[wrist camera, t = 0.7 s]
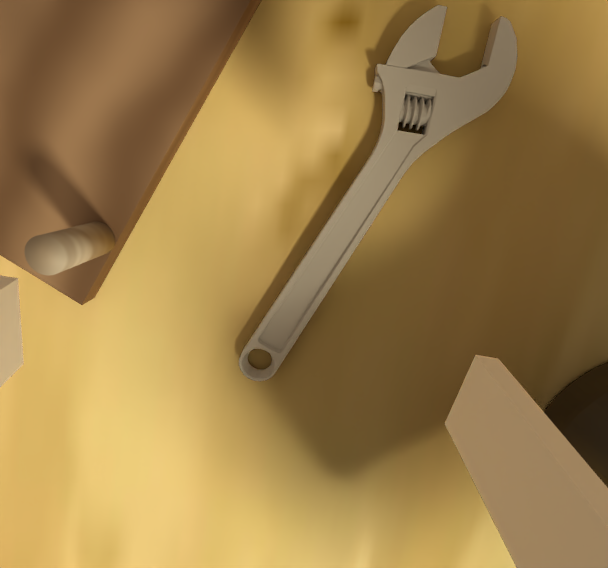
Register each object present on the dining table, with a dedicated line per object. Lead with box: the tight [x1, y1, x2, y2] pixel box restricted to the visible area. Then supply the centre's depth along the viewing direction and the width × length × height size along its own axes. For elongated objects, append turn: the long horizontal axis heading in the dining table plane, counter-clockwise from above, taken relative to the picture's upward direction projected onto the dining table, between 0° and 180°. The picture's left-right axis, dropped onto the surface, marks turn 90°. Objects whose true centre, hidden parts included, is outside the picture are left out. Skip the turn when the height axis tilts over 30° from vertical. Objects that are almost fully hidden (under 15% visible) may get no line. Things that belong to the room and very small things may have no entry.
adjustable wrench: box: [239, 5, 517, 381], centre depth 25 cm, size 25×6×2 cm, turn 144°
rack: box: [0, 0, 261, 305], centre depth 20 cm, size 14×27×6 cm, turn 146°
